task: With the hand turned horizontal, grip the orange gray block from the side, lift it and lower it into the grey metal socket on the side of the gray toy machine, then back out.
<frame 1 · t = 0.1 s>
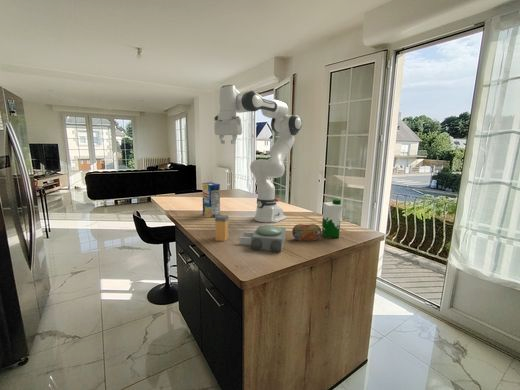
hand: (227, 143, 141), 48 cm above the countertop, tool pointing down, fingers open, 8 cm apart
milk carton: (330, 236, 143), on the countertop
beverage box: (211, 216, 177), on the countertop
orange gray block: (221, 239, 134), on the countertop
gray toy machine: (269, 243, 129), on the countertop
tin: (306, 240, 136), on the countertop
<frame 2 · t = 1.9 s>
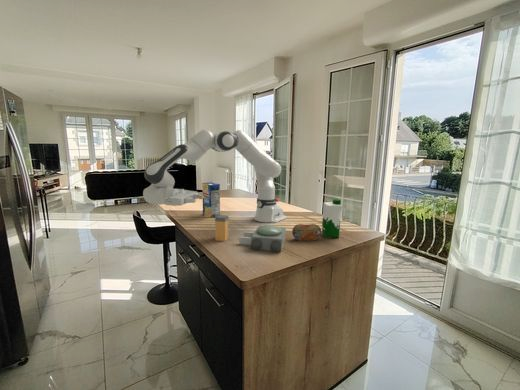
hand: (198, 199, 132), 20 cm above the countertop, tool horizontal, fingers open, 8 cm apart
nothing on the countertop moved.
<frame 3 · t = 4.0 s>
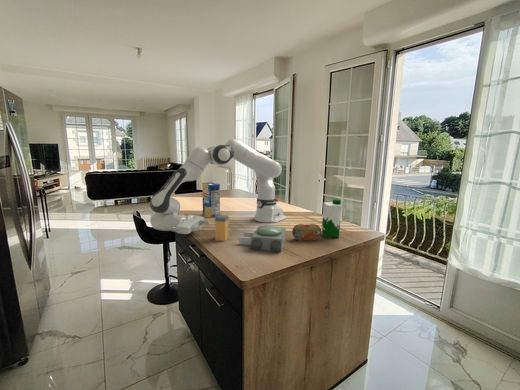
hand: (205, 225, 134), 6 cm above the countertop, tool horizontal, fingers open, 8 cm apart
nothing on the countertop moved.
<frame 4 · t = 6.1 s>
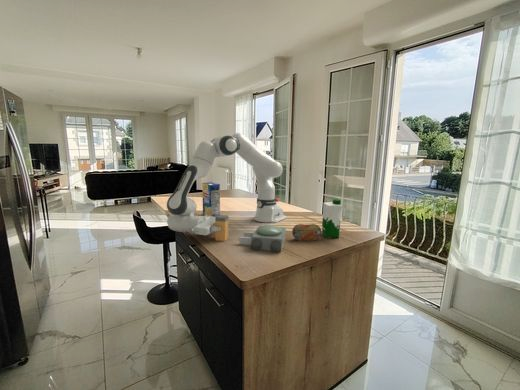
hand: (223, 226, 132), 7 cm above the countertop, tool horizontal, fingers closed on orange gray block, 5 cm apart
orange gray block: (221, 239, 133), on the countertop, touching gripper
everything else where it was.
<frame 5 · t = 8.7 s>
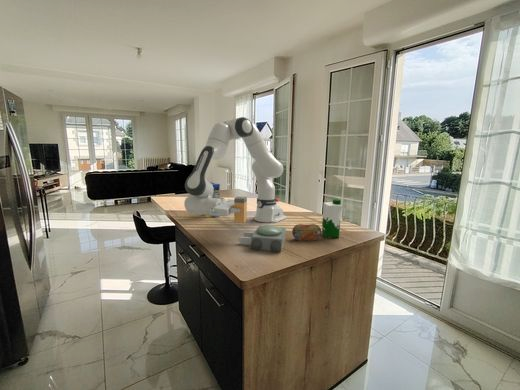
hand: (242, 208, 129), 17 cm above the countertop, tool horizontal, fingers closed on orange gray block, 5 cm apart
orange gray block: (240, 221, 130), point 10 cm above the countertop, touching gripper
everything else where it was.
when the fingers open (8 cm above the countertop, at t = 11.2 s): orange gray block drops 1 cm, on the countertop.
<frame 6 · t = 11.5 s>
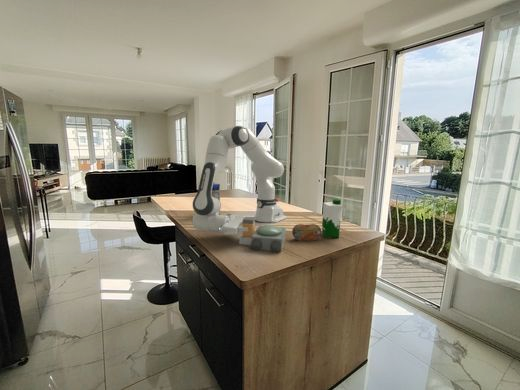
hand: (250, 226, 129), 8 cm above the countertop, tool horizontal, fingers open, 8 cm apart
orange gray block: (248, 241, 131), on the countertop
everything else where it was.
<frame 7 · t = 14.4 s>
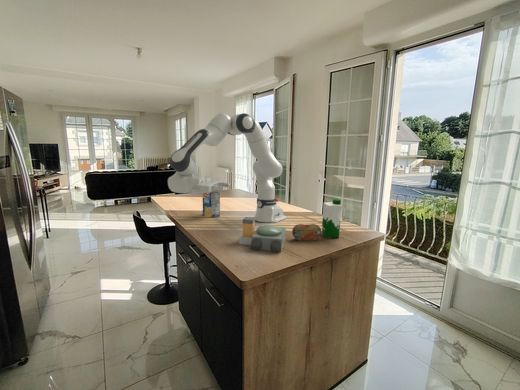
hand: (225, 186, 128), 27 cm above the countertop, tool horizontal, fingers open, 8 cm apart
nothing on the countertop moved.
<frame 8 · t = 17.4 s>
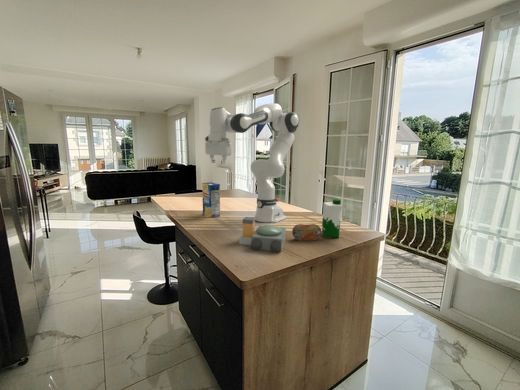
hand: (218, 163, 146), 37 cm above the countertop, tool pointing down, fingers open, 8 cm apart
nothing on the countertop moved.
at the end: orange gray block 0.0 cm from the target spot on the gray toy machine, point 0.0 cm above the gray toy machine's base; orange gray block tilted 0°; the gripper is holding nothing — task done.
